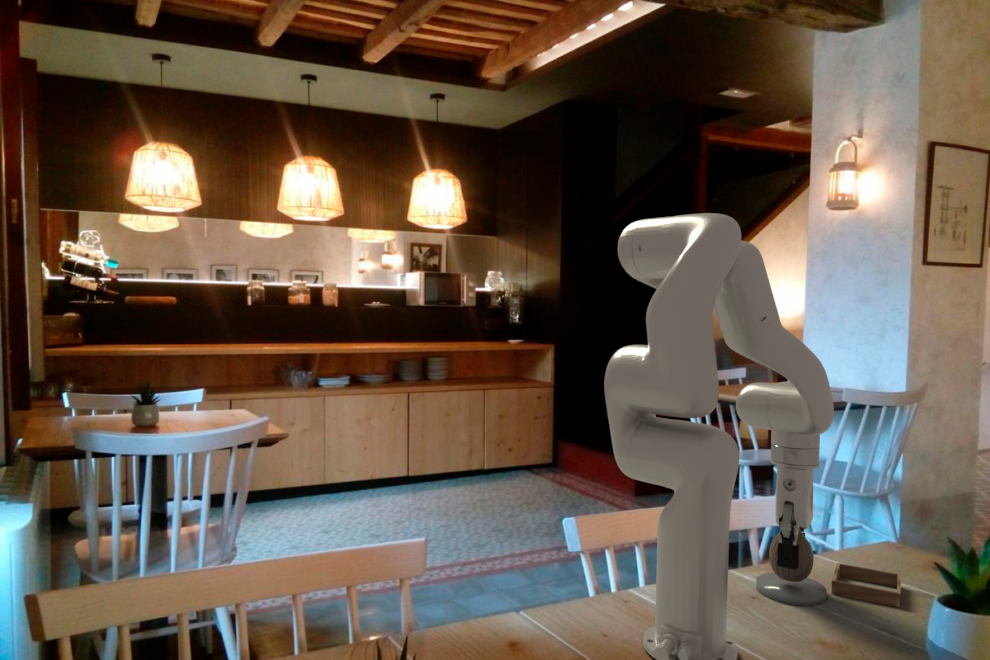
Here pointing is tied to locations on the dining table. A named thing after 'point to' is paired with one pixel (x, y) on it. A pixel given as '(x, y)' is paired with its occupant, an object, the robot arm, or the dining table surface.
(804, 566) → the vase
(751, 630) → the dining table surface
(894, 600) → the holder
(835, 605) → the dining table surface
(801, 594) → the plate
